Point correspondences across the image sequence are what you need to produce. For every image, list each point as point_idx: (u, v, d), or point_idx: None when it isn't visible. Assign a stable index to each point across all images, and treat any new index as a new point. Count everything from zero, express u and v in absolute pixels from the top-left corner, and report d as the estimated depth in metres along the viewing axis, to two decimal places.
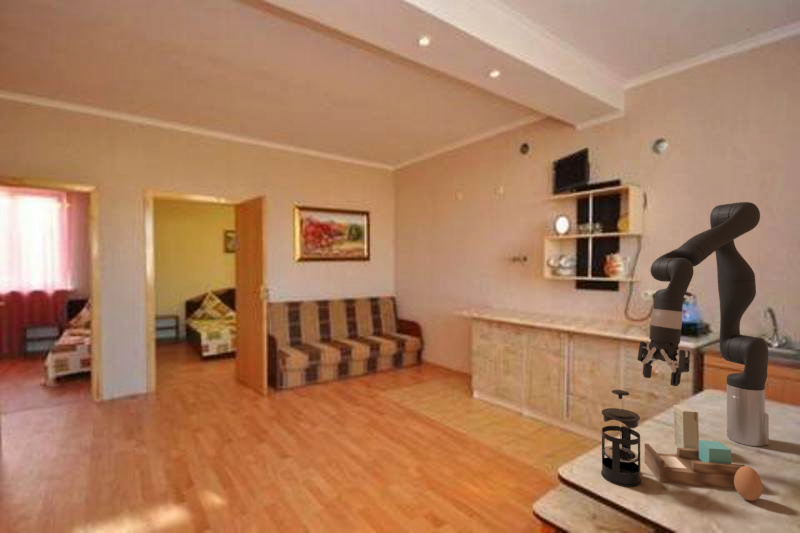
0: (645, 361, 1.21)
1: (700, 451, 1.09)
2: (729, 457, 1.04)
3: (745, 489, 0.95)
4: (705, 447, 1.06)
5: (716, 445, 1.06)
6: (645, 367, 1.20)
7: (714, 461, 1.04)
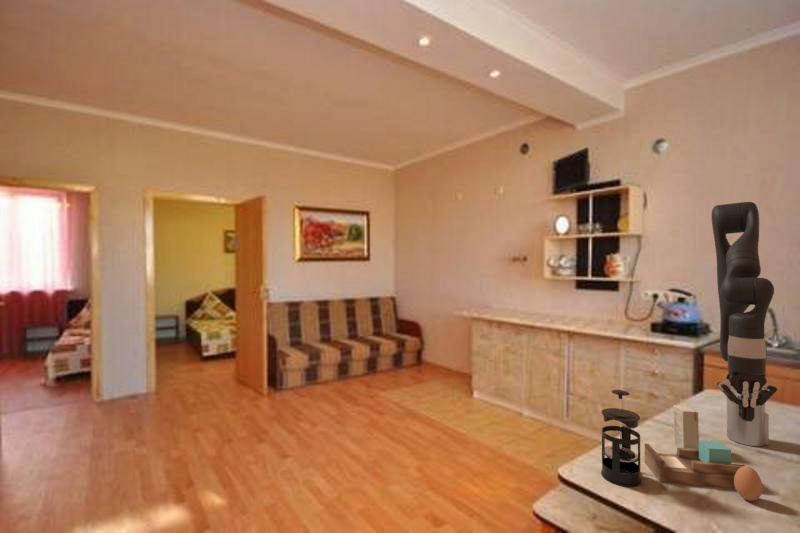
0: (747, 403, 1.04)
1: (700, 451, 1.09)
2: (729, 457, 1.04)
3: (745, 489, 0.95)
4: (705, 447, 1.06)
5: (716, 445, 1.06)
6: (747, 410, 1.04)
7: (714, 461, 1.04)
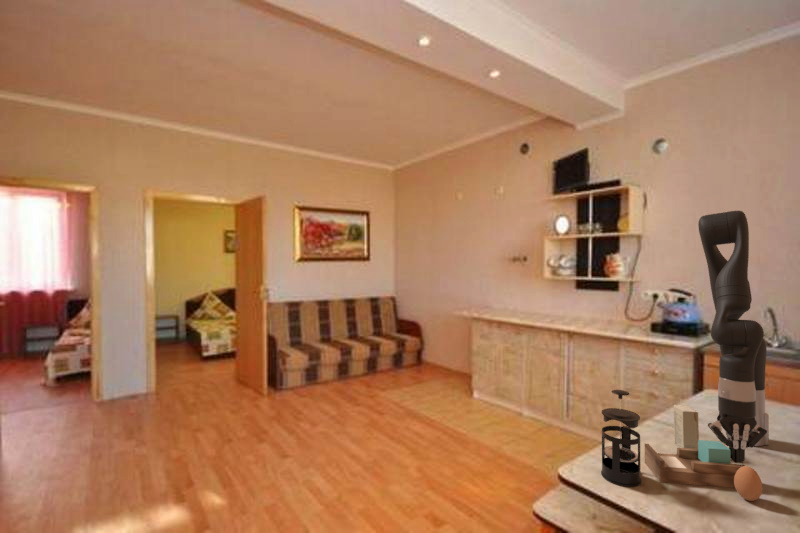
0: (737, 445, 1.04)
1: (699, 451, 1.09)
2: (728, 457, 1.04)
3: (745, 489, 0.95)
4: (704, 447, 1.06)
5: (715, 445, 1.06)
6: (738, 452, 1.04)
7: (713, 461, 1.04)
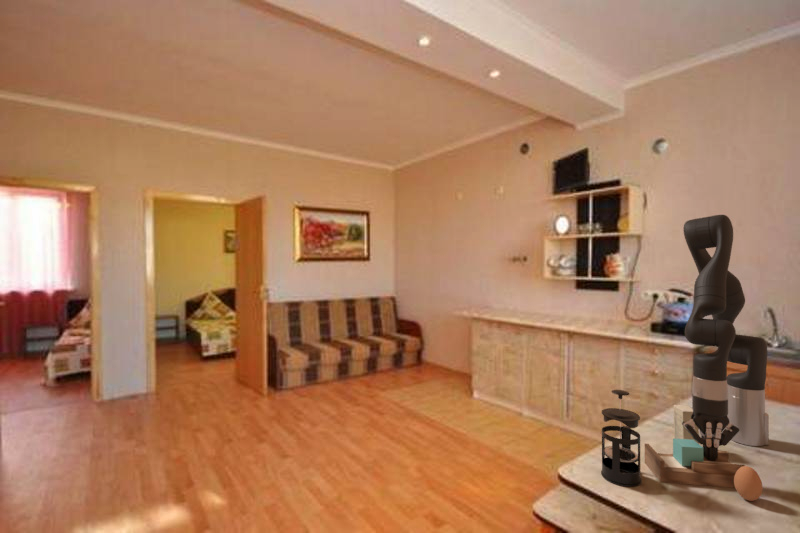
0: (711, 443, 1.05)
1: (674, 449, 1.10)
2: (701, 455, 1.05)
3: (745, 489, 0.95)
4: (678, 445, 1.08)
5: (689, 443, 1.08)
6: (711, 450, 1.06)
7: (687, 459, 1.06)
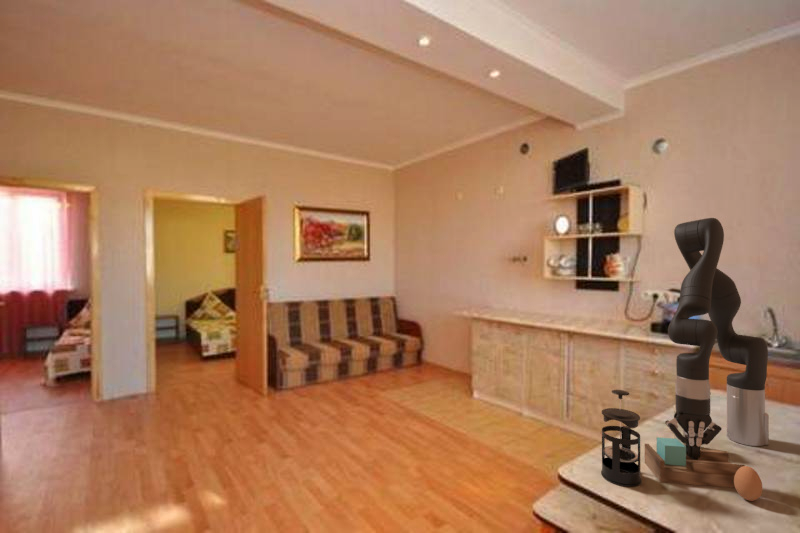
0: (693, 442, 1.06)
1: (657, 448, 1.11)
2: (684, 454, 1.06)
3: (745, 489, 0.95)
4: (661, 444, 1.08)
5: (672, 442, 1.08)
6: (693, 449, 1.06)
7: (670, 458, 1.06)
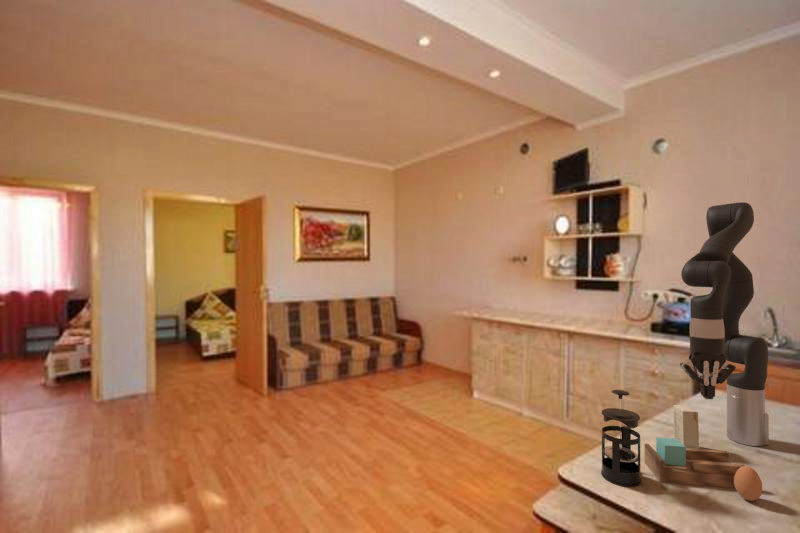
0: (708, 382, 1.08)
1: (657, 448, 1.11)
2: (684, 454, 1.06)
3: (745, 489, 0.95)
4: (661, 444, 1.08)
5: (672, 442, 1.08)
6: (708, 388, 1.08)
7: (669, 458, 1.06)
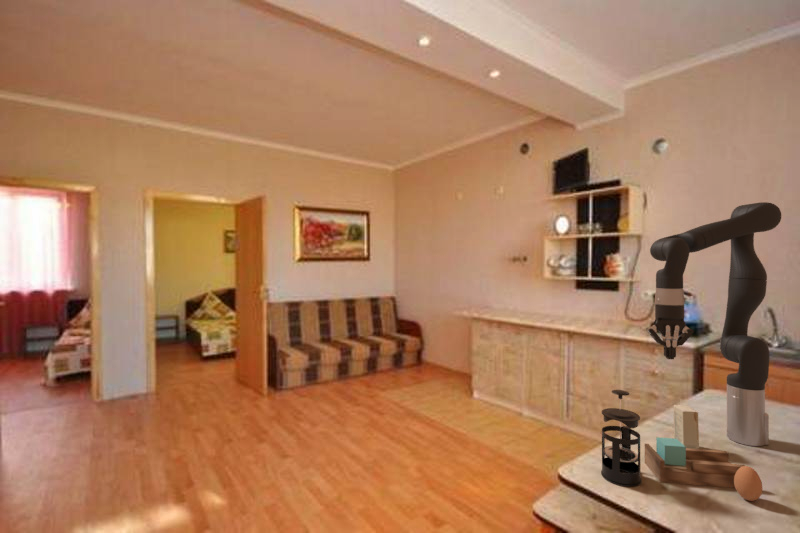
0: (670, 344, 1.23)
1: (657, 448, 1.11)
2: (684, 454, 1.06)
3: (745, 489, 0.95)
4: (661, 444, 1.08)
5: (672, 442, 1.08)
6: (670, 349, 1.24)
7: (669, 458, 1.06)
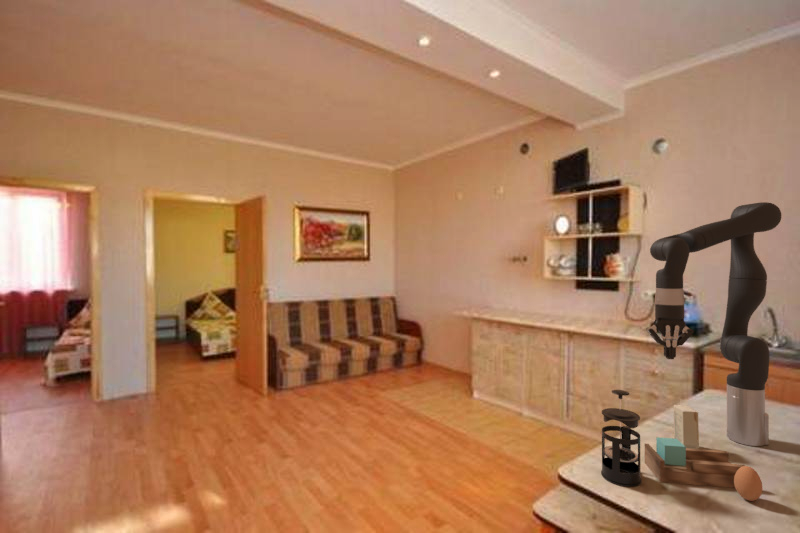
0: (669, 344, 1.23)
1: (657, 448, 1.11)
2: (684, 454, 1.06)
3: (745, 489, 0.95)
4: (661, 444, 1.08)
5: (672, 442, 1.08)
6: (670, 349, 1.24)
7: (669, 458, 1.06)
